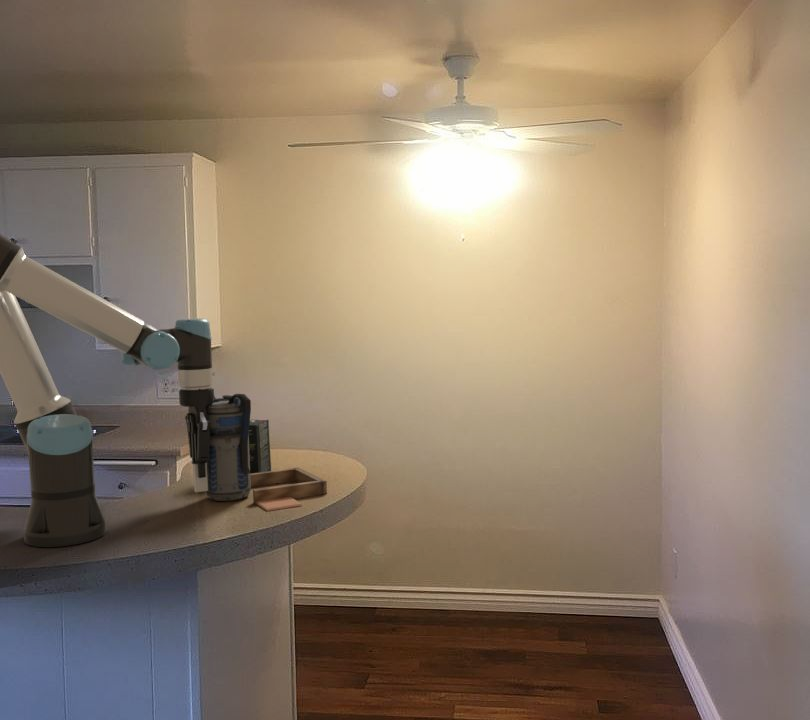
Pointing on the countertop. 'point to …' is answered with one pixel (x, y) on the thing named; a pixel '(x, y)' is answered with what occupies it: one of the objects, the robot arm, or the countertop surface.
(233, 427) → the beverage bottle
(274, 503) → the tile
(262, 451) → the tampon box
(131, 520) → the countertop surface
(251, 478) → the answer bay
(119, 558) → the countertop surface
